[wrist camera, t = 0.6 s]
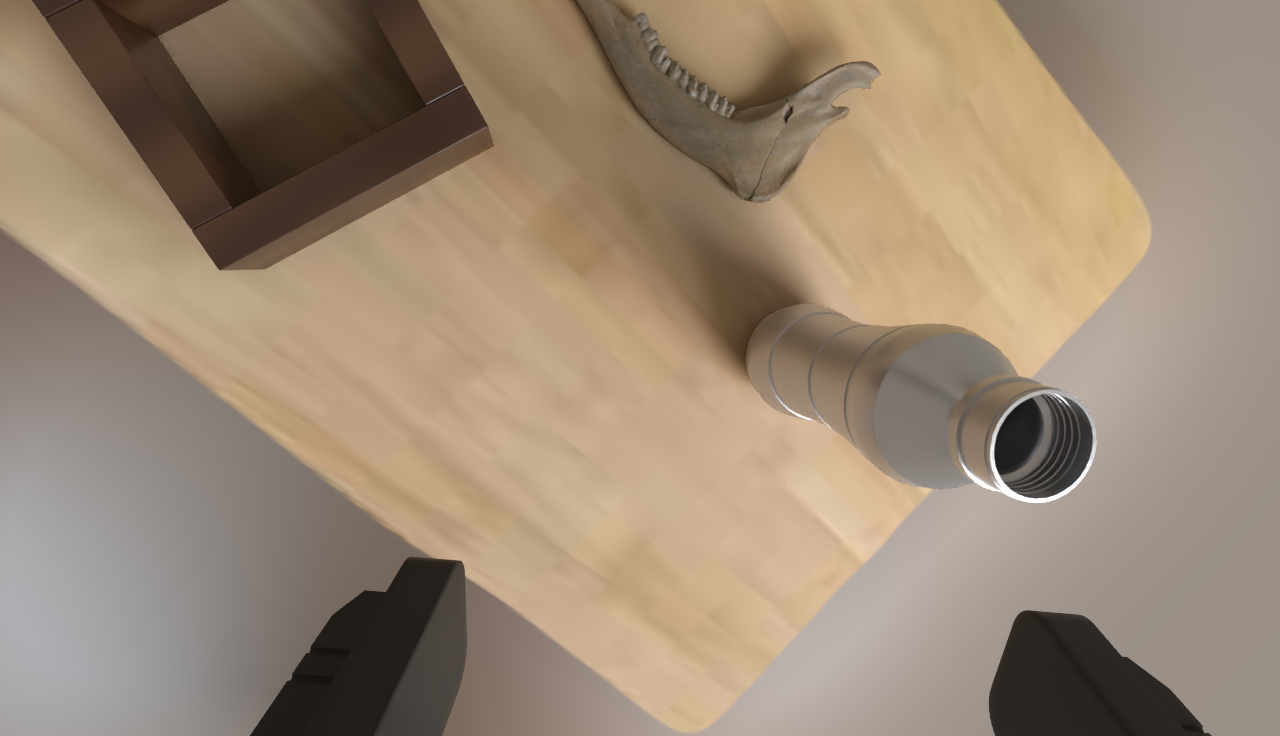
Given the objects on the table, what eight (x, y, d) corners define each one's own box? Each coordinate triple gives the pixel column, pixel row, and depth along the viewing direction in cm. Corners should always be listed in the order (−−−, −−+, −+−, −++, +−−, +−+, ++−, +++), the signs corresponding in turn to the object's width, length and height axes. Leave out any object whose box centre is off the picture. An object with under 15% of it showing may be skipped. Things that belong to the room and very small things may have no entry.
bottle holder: (92, 15, 31) (9, -32, 26) (348, -113, 31) (315, -182, 27) (264, 269, 34) (218, 271, 29) (494, 145, 34) (488, 126, 30)
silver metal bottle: (811, 424, 40) (1077, 578, 20) (716, 380, 39) (905, 502, 19) (858, 329, 39) (1177, 395, 20) (764, 281, 38) (1008, 302, 19)
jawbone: (807, 227, 38) (821, 228, 36) (467, 93, 34) (462, 86, 32) (868, 73, 37) (886, 66, 35) (519, -85, 33) (517, -104, 31)
